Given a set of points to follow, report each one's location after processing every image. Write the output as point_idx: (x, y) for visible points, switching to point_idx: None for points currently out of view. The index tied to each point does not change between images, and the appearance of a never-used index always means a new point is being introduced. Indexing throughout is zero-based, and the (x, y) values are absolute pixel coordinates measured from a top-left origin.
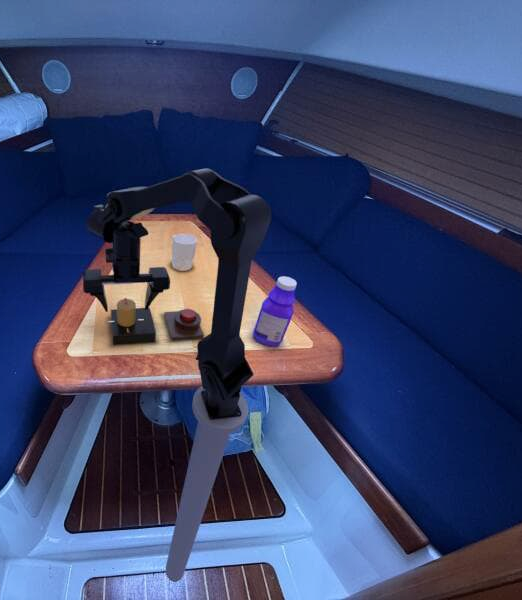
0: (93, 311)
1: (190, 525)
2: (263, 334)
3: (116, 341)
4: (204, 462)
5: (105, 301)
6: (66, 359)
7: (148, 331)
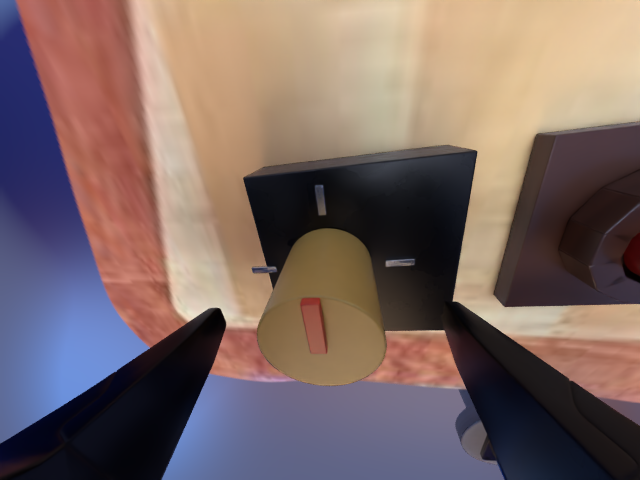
0: (169, 108)
1: None
2: None
3: None
4: None
5: (164, 470)
6: None
7: (419, 322)
